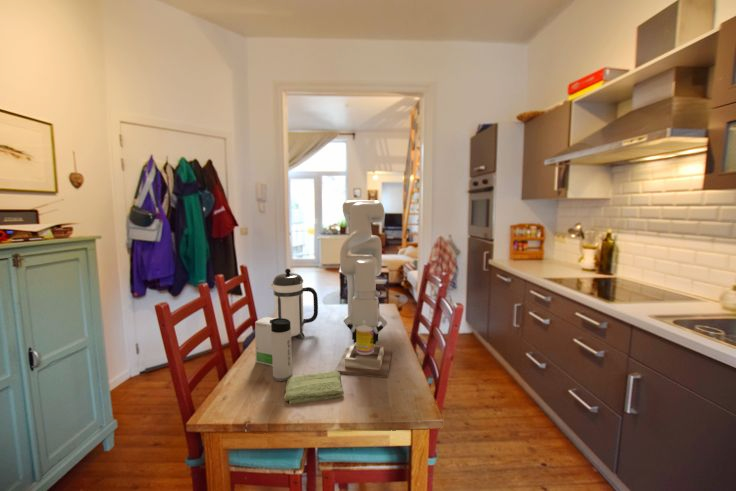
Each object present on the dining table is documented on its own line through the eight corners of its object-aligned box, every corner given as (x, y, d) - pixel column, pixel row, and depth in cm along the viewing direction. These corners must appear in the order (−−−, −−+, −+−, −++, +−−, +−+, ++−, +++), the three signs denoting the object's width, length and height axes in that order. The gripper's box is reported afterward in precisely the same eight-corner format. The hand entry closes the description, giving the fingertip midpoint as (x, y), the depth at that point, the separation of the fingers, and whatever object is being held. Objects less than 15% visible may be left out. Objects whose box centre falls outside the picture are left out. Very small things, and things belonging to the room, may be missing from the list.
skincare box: (255, 362, 119) (253, 321, 117) (266, 354, 125) (265, 315, 123) (274, 366, 116) (272, 324, 114) (285, 358, 122) (283, 318, 120)
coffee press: (292, 346, 133) (290, 274, 129) (264, 338, 141) (262, 270, 137) (319, 331, 148) (317, 266, 144) (292, 325, 156) (290, 263, 152)
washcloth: (286, 382, 107) (286, 373, 106) (340, 377, 110) (340, 368, 109) (283, 407, 94) (283, 396, 93) (344, 400, 97) (344, 390, 96)
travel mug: (270, 374, 111) (268, 317, 108) (290, 370, 113) (288, 315, 111) (273, 383, 105) (270, 324, 103) (293, 379, 108) (292, 321, 105)
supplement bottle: (372, 356, 114) (372, 321, 113) (354, 354, 116) (353, 320, 114) (375, 348, 121) (375, 315, 119) (358, 346, 122) (358, 313, 121)
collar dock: (346, 349, 129) (346, 340, 129) (391, 353, 126) (392, 343, 126) (335, 373, 111) (334, 362, 111) (387, 377, 109) (387, 366, 108)
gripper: (390, 292, 118) (390, 339, 120) (343, 290, 121) (344, 336, 123) (388, 298, 111) (388, 348, 113) (338, 296, 113) (339, 344, 116)
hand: (365, 341), depth 118 cm, fingers closed on supplement bottle, 6 cm apart
